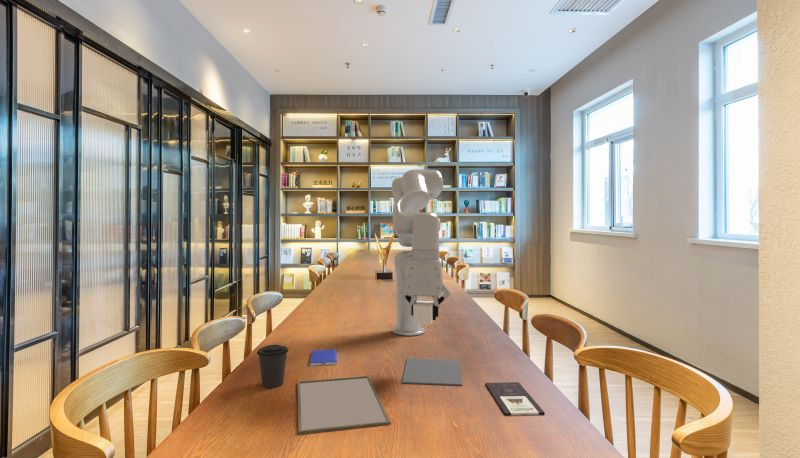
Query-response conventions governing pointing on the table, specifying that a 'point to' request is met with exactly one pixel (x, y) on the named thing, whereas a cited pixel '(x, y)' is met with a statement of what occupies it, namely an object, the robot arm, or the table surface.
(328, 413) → the picture frame
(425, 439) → the table surface
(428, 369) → the mat
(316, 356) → the hard drive
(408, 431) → the table surface
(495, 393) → the chocolate bar
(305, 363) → the table surface
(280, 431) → the table surface
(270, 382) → the coffee cup
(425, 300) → the card box
